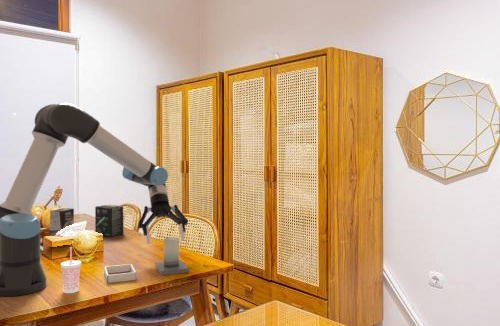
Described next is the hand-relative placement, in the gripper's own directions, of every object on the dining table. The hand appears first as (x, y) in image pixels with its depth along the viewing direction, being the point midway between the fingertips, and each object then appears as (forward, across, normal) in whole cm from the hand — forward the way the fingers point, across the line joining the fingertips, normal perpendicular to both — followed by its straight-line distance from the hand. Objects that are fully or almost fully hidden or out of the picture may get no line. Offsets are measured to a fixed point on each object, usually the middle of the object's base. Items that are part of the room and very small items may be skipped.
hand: (166, 240), depth 167 cm
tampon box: (-35, +17, -48) cm, 62 cm away
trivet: (+13, 0, +1) cm, 13 cm away
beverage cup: (+21, +35, +9) cm, 42 cm away
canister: (+12, 0, +2) cm, 12 cm away
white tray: (+15, +19, +2) cm, 24 cm away
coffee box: (-25, +39, -38) cm, 60 cm away
